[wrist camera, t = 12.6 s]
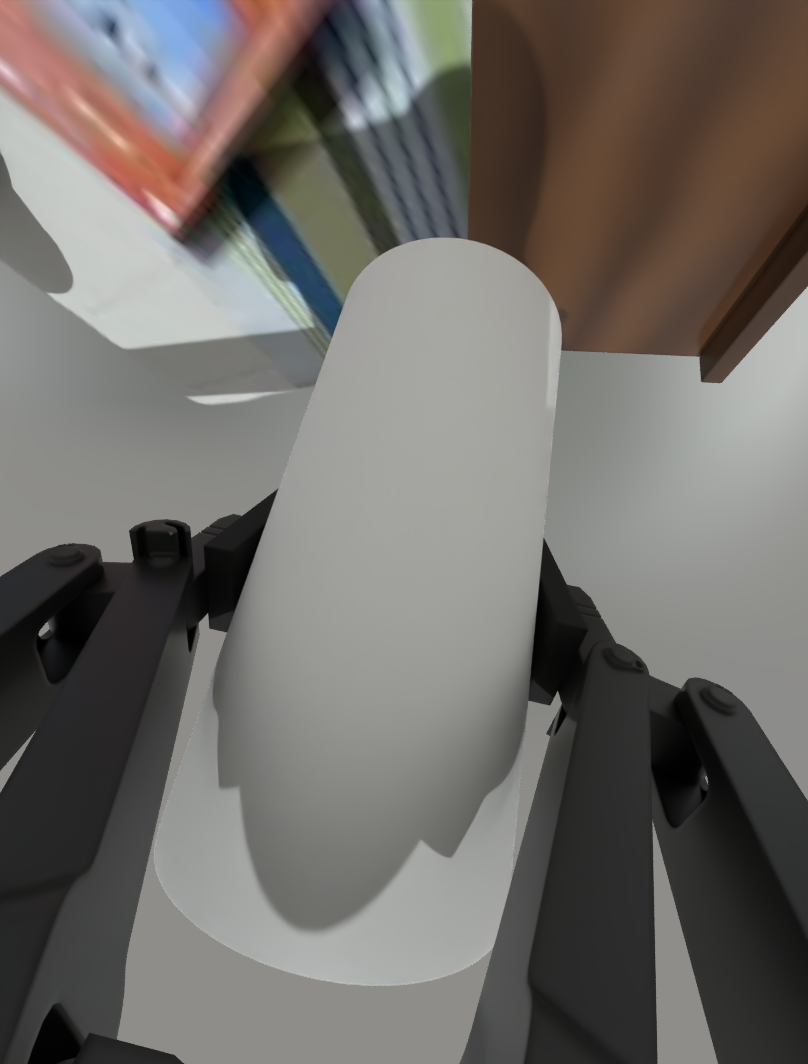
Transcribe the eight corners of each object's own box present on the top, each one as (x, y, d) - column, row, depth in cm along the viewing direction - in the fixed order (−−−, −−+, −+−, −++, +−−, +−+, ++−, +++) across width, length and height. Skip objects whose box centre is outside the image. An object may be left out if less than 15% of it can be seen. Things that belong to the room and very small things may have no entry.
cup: (609, 256, 10) (573, 1062, 5) (522, 431, 18) (474, 822, 13) (321, 219, 11) (31, 899, 6) (357, 403, 19) (247, 764, 14)
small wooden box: (484, 249, 26) (461, 369, 23) (527, -474, 10) (465, -444, 6) (708, 248, 24) (721, 383, 20) (1297, -762, 7) (1957, -996, 4)
